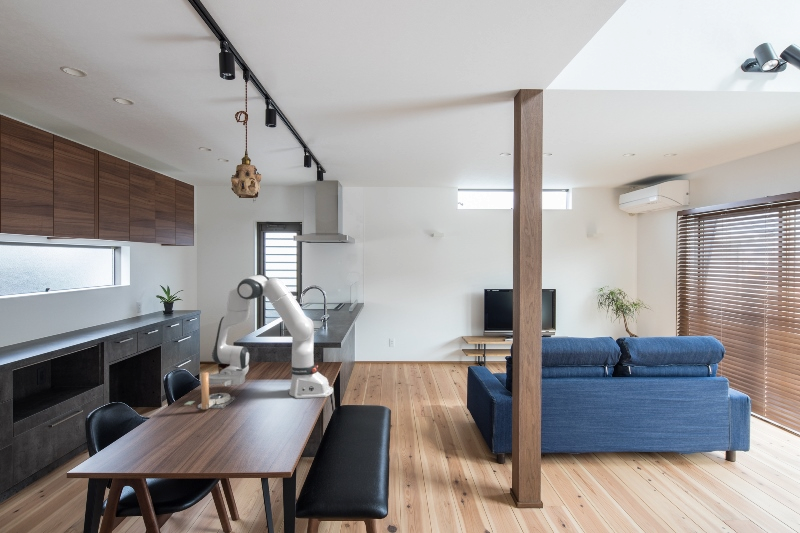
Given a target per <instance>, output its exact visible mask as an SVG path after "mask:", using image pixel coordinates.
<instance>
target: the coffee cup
mask: <svg viewBox="0 0 800 533" xmlns="http://www.w3.org/2000/svg"><path fill="white" fill-rule="evenodd" d="M229 366H230V364H217V368H218V370H217V371H218V374H219V373H220V372H221V370H223V369H225V368H227V367H229Z"/></svg>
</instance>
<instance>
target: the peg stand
mask: <svg viewBox="0 0 800 533" xmlns="http://www.w3.org/2000/svg"><path fill="white" fill-rule="evenodd" d="M200 376H201V377H200V378H201V384H200V385H201V387H200V388H201V403H202V405H201V408H200V409H201V410H208V409H210V408H209V407H211V406H212V405H215V404H220V403H225V402H227V401H228V400H230V397H231V395H230V394H229V393H228V392H219V393H212V394H210V388H209V387H210V385H209V371H207V372H201V373H200ZM214 394H222V398H218V399H212V395H214Z"/></svg>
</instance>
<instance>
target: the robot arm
mask: <svg viewBox="0 0 800 533" xmlns="http://www.w3.org/2000/svg"><path fill="white" fill-rule="evenodd" d="M262 296H264V297H266V298H267V299H268V300H269V302H270V303H271V305H272V307H273V308H274V309H275V311H276V312H277V314H278V315H279V317H280V319H281V320H282V322H283V324H284V326H285V328H286V329H287V331H288V332H289V334H290V336H291V337H292V339H291V340H292V343H291V344H292V346H291V366H290V377H291V381H290V389H289V392H288V394H289V396H291V397H294V398H295V399H309V398H311V399H315V398H326V397H329V396H331V394H333V392H334V387H332V386H330V385H329V379H328V378H327V377H325V376H324V375H323V374H321V373H320V372H319V371H318V367H319V365H316V364H315V362H314V360H315V359H314V357H315V356H314V355H315V354H314V350H315V349H314V348H315V347H314V346H315V345H314V344H315V343H314V342H315V340H314V336H315V334H314V333H315V325H314V321H313V320H312V319H311V317H308V316H306V314H305V312H304V311H303V309H302V307H301V306H300V304H299V302H298V301H297V299H296V297H294V295H293V293H292V292H291V290H290V289H289V288H288V287H287V286H286V284H285V283H284V282H283V281H282V280H281V279H280V278H278V277H272V278H269V277H268V276H267V275H265V274H262V273H259V274H255V275H251V276H250V275H249V276H247V277H246V278H245V279H242V280H241V281H240V282H239V283H238V285H237V287H233V288H232V289H231V290H230V291H229V293H228V297H227V303H226V304H227V305H226V314H225V315H224V316H222V317H221V319H220V320H219V324H218V329H217V332H216V337H215V343H214V347H213V350H212V353H211V358H212V360H213V362H214V363H216V364H217V365H218V364H230V366H229V367H227V368H225V369H223V370H221V372H220V373H219V372H218V373H210V374H209V386H222V387H229V386H240V385H242V384H244V383H246V382H245V381H246V374H247V373H248V372H249V369H250V366H249V364H250V359H251V355H250V351H249V349H248V348H247V347H246V346H240V345H230V344H227V339H228V334H229V333H228V332H229V329H230V328H234V327H238V326H241V325H243V324H244V323H246V322H247V321H248V319H249V317H250V313H251V301H252V300H254V299H257V298H261V297H262ZM199 384H200V385H201V377H200V378H199Z"/></svg>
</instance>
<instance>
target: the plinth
mask: <svg viewBox="0 0 800 533" xmlns="http://www.w3.org/2000/svg"><path fill="white" fill-rule="evenodd" d="M213 394H214V395H212V399H218V398H222V394H216V393H213ZM233 400H234V401H235V400H236V397H235V396H230V400H228V401H227V402H225V403H220V404H215V405H212V406H211V407H209V408H208V409H224V408H225V407H226V405H227V406H228V405H230V404H231V403H232V402H234V401H233ZM201 405H202V402H201V403H200V404H198V405H197V408H198V409H201Z"/></svg>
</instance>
